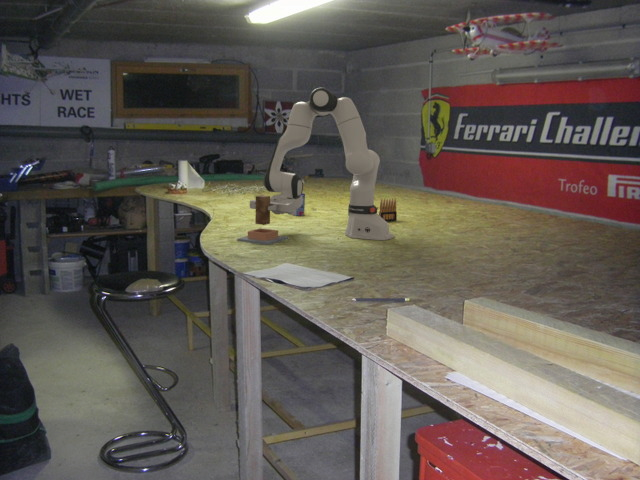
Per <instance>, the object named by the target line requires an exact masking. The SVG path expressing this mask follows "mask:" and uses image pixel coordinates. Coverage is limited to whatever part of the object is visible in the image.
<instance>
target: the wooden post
mask: <svg viewBox="0 0 640 480" xmlns="http://www.w3.org/2000/svg"><path fill="white" fill-rule="evenodd" d="M270 198H271V195H264V194H263V195H262V194H261V195H260V194H259V195H257V196H256V195H255V200H256V209H255V218H254V219H255V225H263V226H267V225H268V224H269V225H270V224H271V211H268V210H266V206H270Z"/></svg>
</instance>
